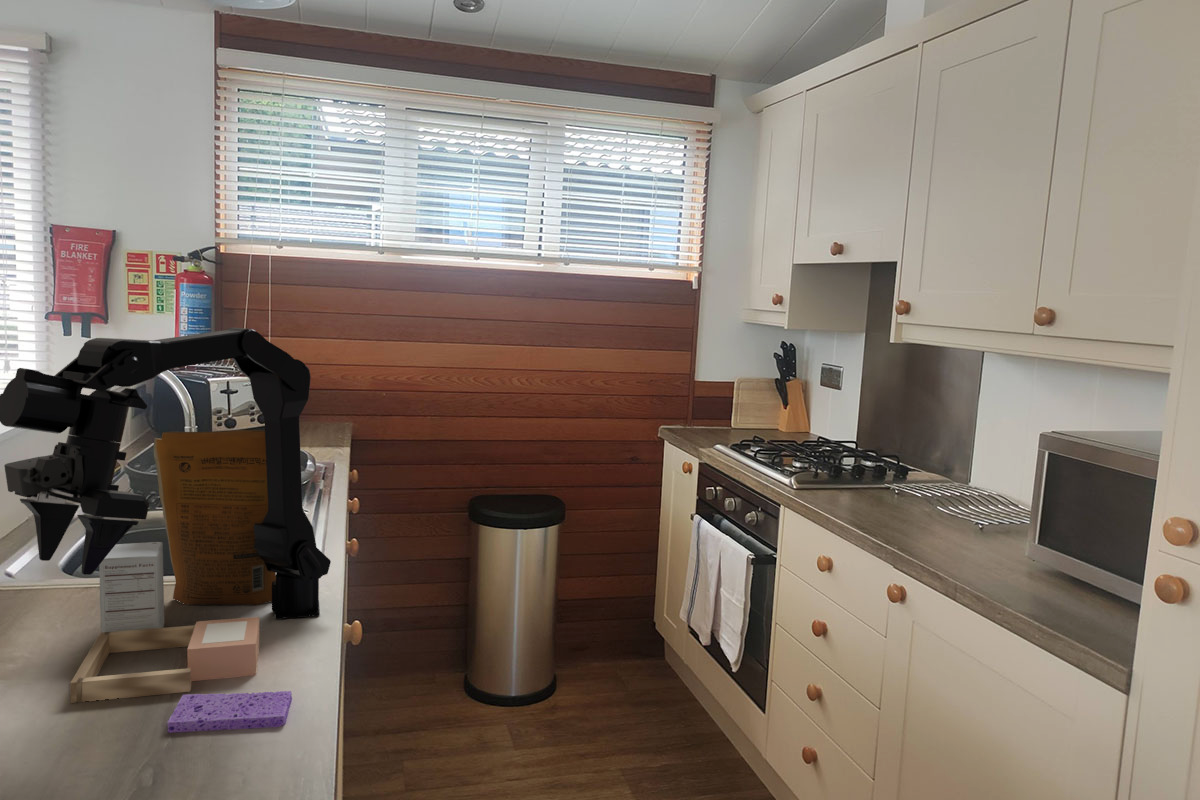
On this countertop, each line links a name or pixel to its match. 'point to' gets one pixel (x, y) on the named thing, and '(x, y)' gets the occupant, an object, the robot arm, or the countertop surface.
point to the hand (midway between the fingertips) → (65, 567)
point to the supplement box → (132, 587)
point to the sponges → (230, 711)
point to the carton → (224, 648)
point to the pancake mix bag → (215, 514)
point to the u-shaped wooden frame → (132, 684)
